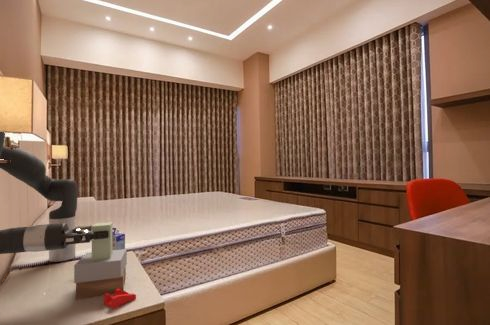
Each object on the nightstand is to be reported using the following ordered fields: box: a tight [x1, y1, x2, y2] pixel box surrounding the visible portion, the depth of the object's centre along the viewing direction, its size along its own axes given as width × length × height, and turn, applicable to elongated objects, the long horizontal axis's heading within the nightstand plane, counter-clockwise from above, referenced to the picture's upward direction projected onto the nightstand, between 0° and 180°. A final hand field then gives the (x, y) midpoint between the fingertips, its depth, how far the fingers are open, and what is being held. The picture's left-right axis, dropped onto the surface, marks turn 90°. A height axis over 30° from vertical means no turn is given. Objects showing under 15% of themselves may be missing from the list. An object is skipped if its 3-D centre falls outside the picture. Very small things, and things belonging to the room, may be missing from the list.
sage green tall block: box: [91, 221, 113, 260], centre depth 82 cm, size 5×5×10 cm
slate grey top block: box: [73, 248, 128, 284], centre depth 82 cm, size 12×12×5 cm
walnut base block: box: [75, 266, 127, 301], centre depth 82 cm, size 12×12×5 cm
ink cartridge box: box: [112, 227, 126, 250], centre depth 100 cm, size 10×6×14 cm, turn 78°
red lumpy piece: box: [103, 288, 137, 310], centre depth 73 cm, size 6×5×3 cm
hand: (110, 231), depth 83 cm, fingers open, 7 cm apart
